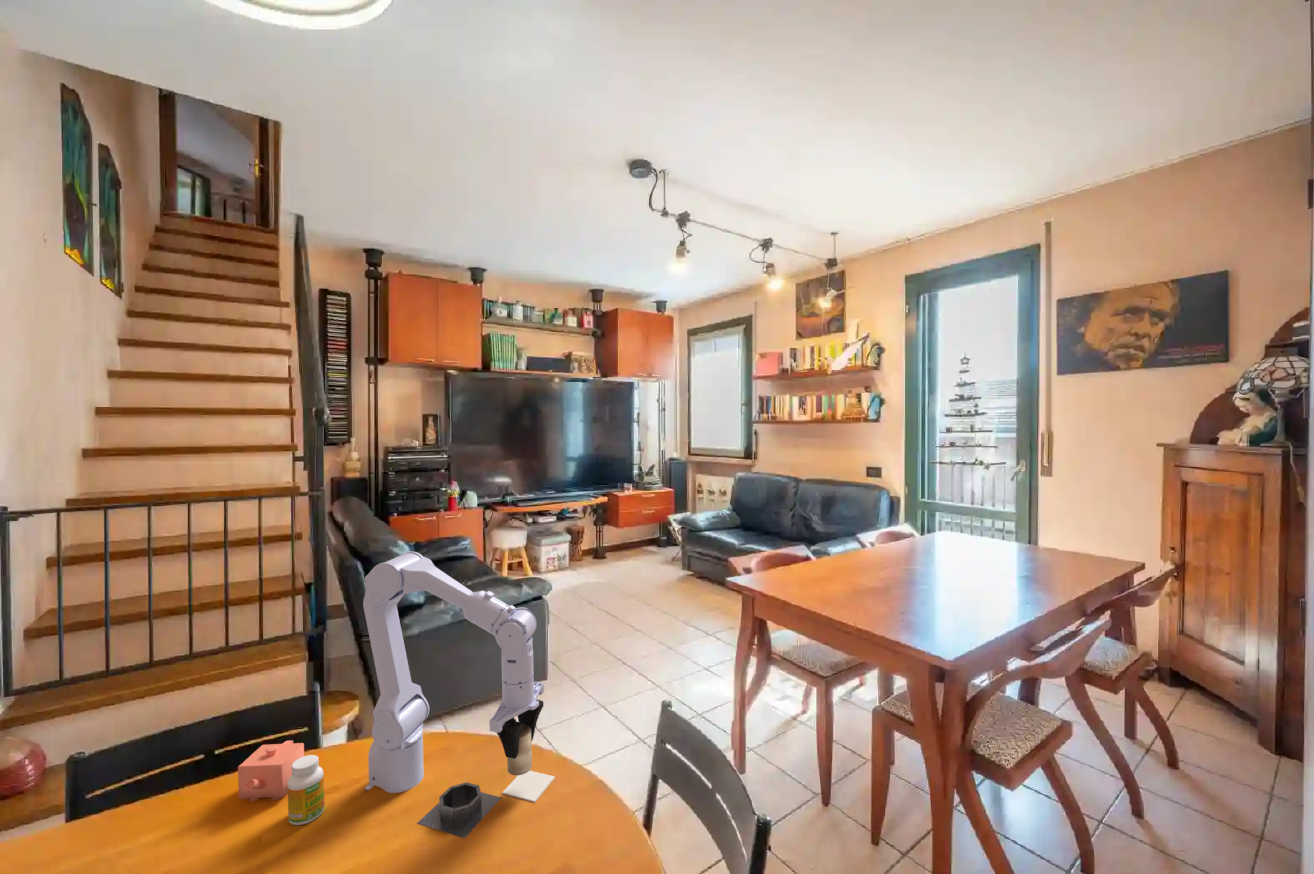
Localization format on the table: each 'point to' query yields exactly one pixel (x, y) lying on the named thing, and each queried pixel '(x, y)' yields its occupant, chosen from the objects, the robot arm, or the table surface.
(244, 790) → the pink cube teapot
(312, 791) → the supplement bottle
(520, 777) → the tile pad
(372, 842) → the table surface
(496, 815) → the table surface
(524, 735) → the tan cylinder
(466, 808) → the housing
